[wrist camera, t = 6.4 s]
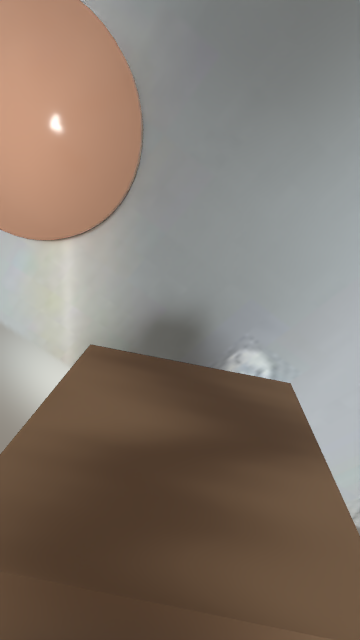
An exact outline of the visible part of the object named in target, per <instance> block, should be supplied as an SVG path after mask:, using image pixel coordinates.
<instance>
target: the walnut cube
mask: <svg viewBox="0 0 360 640" xmlns="http://www.w3.org/2000/svg"><path fill="white" fill-rule="evenodd" d="M0 640H360V536H359V533H358V531H357V529H356V527H355V524H354V522H353V520H352V518H351V516H350V513H349V511H348V509H347V507H346V504H345V502H344V500H343V498H342V496H341V493H340V491H339V489H338V487H337V485H336V482H335V480H334V478H333V476H332V474H331V471H330V469H329V467H328V465H327V463H326V460H325V458H324V456H323V454H322V452H321V449H320V447H319V445H318V443H317V441H316V438H315V436H314V434H313V432H312V430H311V427H310V425H309V423H308V421H307V419H306V416H305V414H304V412H303V410H302V408H301V405H300V403H299V401H298V399H297V397H296V394H295V392H294V390H293V388H292V386H291V383H286V382H281V381H276V380H271V379H266V378H261V377H255V376H250V375H245V374H240V373H235V372H230V371H224V370H219V369H214V368H209V367H204V366H199V365H193V364H188V363H183V362H178V361H173V360H168V359H163V358H157V357H152V356H147V355H142V354H137V353H132V352H126V351H121V350H116V349H111V348H106V347H101V346H95V345H90V346H89V347H88V348H87V349H86V350H85V352H84V353H83V354H82V355H81V357H80V358H79V359H78V360H77V361H76V363H75V364H74V365H73V366H72V368H71V369H70V370H69V371H68V372H67V374H66V375H65V376H64V377H63V379H62V380H61V381H60V382H59V383H58V385H57V386H56V387H55V388H54V390H53V391H52V392H51V393H50V394H49V396H48V397H47V398H46V399H45V401H44V402H43V403H42V404H41V406H40V407H39V408H38V409H37V410H36V412H35V413H34V414H33V415H32V416H31V418H30V419H29V420H28V421H27V423H26V424H25V425H24V426H23V428H22V429H21V430H20V431H19V432H18V434H17V435H16V436H15V437H14V438H13V440H12V441H11V442H10V443H9V445H8V446H7V447H6V448H5V449H4V451H3V452H2V453H1V454H0Z"/></svg>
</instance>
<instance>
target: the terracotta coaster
mask: <svg viewBox="0 0 360 640" xmlns="http://www.w3.org/2000/svg"><path fill="white" fill-rule="evenodd" d="M142 142H143V119H142V110H141V104H140V98H139V94H138V90H137V87H136V83H135V80H134V77H133V75H132V73H131V70H130V68H129V65H128V63H127V61H126V59H125V57H124V56H123V54H122V52H121V50H120V48H119V47H118V45H117V43H116V41H115V39H114V38H113V37H112V35H111V34H110V32H109V31H108V30H107V28H106V27H105V25H104V24H103V23H102V22H101V21H100V20H99V18H98V17H97V16H96V15H95V14H94V13H93V12H92V11H91V10H90V9H89V8H88V7H87V6H86V5H84V4H83V3H82V2H81V1H80V0H0V229H1V230H3V231H5V232H8V233H10V234H13V235H16V236H20V237H24V238H27V239H36V240H56V239H62V238H67V237H71V236H74V235H78V234H81V233H84V232H86V231H88V230H90V229H92V228H94V227H95V226H97V225H98V224H100V223H101V222H103V221H104V220H105V219H106V218H108V217H109V216H110V215H111V214H112V213H113V212H114V211H115V210H116V208H117V207H118V206H119V205H120V204H121V202H122V201H123V199H124V198H125V196H126V194H127V193H128V191H129V189H130V187H131V185H132V183H133V181H134V178H135V176H136V172H137V169H138V166H139V163H140V157H141V151H142Z"/></svg>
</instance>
